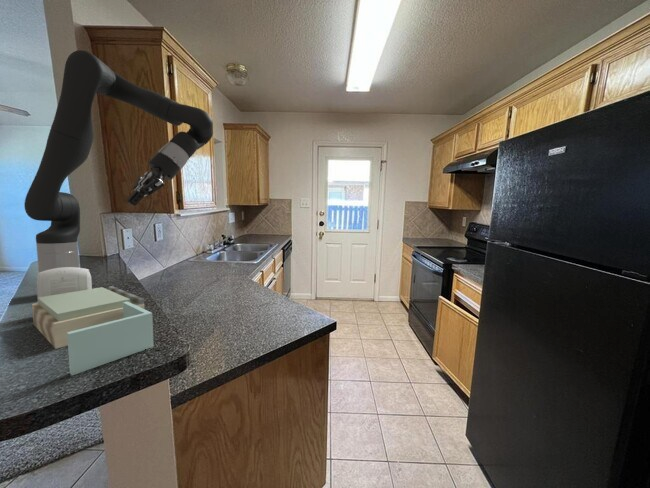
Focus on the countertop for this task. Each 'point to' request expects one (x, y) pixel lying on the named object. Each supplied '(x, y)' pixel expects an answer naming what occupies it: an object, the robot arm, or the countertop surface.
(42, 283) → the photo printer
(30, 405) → the countertop surface
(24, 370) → the countertop surface
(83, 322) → the block
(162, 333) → the countertop surface
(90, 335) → the l-shaped corner panel
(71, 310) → the sage green flat slab
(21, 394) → the countertop surface
